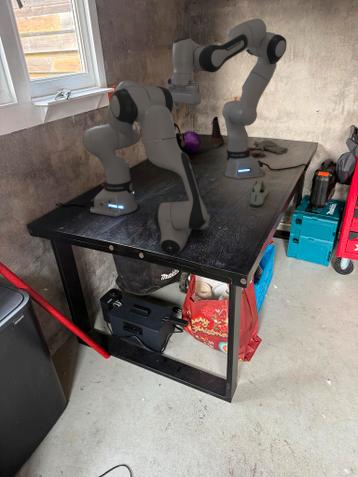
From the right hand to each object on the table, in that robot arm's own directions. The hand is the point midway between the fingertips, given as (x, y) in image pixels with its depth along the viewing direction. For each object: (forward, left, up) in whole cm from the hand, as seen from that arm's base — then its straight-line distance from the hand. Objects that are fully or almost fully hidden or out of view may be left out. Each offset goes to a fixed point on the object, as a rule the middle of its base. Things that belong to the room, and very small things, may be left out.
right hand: (184, 113), depth 152 cm
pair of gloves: (-52, -66, -39) cm, 93 cm away
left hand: (+1, +34, -34) cm, 48 cm away
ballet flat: (-34, +12, -39) cm, 53 cm away
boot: (-26, -93, -39) cm, 104 cm away
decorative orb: (-5, -73, -39) cm, 82 cm away
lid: (-2, +25, -22) cm, 33 cm away
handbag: (+7, -52, -39) cm, 65 cm away
